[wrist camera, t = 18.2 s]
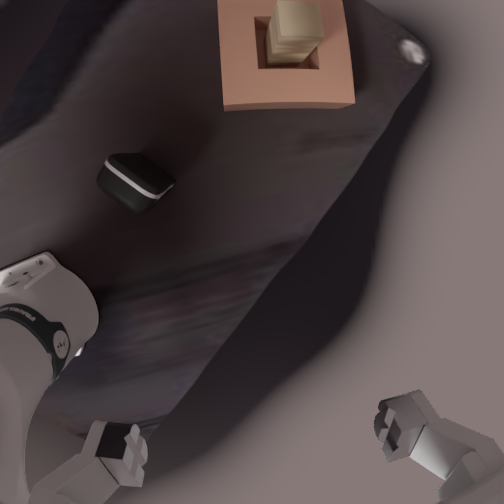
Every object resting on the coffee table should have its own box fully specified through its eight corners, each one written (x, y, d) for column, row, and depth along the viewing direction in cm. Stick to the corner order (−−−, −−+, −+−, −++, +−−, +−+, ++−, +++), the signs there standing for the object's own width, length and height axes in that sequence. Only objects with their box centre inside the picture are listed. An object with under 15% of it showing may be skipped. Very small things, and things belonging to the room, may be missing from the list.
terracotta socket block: (224, 111, 37) (223, 105, 31) (218, 11, 32) (216, -8, 26) (338, 108, 37) (355, 103, 32) (327, 12, 33) (341, -5, 27)
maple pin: (265, 67, 34) (281, 35, 23) (263, 39, 33) (277, 0, 21) (297, 67, 34) (324, 37, 23) (294, 40, 33) (319, 2, 21)
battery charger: (121, 174, 38) (85, 184, 28) (137, 150, 38) (104, 152, 27) (162, 203, 40) (138, 224, 29) (178, 180, 39) (159, 192, 28)
